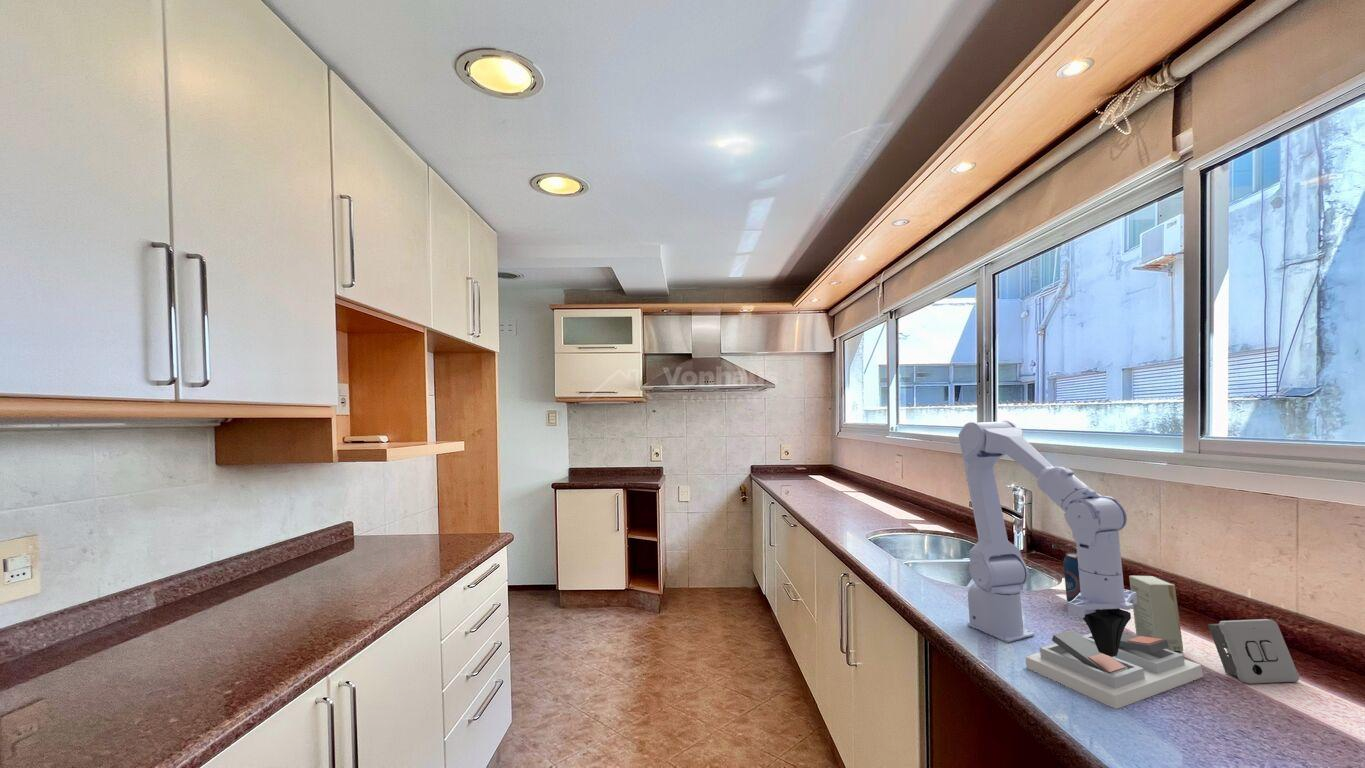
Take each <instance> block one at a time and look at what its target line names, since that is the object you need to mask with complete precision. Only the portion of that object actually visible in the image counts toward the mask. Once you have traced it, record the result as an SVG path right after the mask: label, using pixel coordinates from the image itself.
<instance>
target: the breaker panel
mask: <svg viewBox="0 0 1365 768" xmlns="http://www.w3.org/2000/svg"><path fill="white" fill-rule="evenodd" d="M1081 636H1082V637H1084V638H1085V639H1087V640H1088V641H1090V642H1091V643H1093V644H1094V645H1096V644H1095V641H1094V639H1093V637H1092V634H1091V633H1089V634H1088V633H1087V634H1084V635H1081ZM1113 658H1115V659H1116V660H1117V661H1119V662H1120V663H1122V664H1123V665H1125V666H1126V667H1128V668H1129V669H1127V670H1124V671H1121V672H1118V673H1115V674H1112V675H1111V674H1108V673H1106V672H1103V671H1101V670H1098V669H1096V668H1094V667H1091V666H1089V665H1086V664H1084V663H1082V662H1081V661H1079V660H1078V659H1077V658H1075V657H1074V656H1073V655H1071V654H1070V653H1068V652H1067V651H1066V650H1064V649H1063V648H1062V647H1060V646H1059V645H1057V644H1056V643H1055V642H1054V643H1051V644H1048V645H1045V646H1041V647H1039V652H1036V653H1033V654H1030V655H1026V656H1025V669H1027V668H1028V669H1027V670H1030V671H1032V670H1033V671H1032V672H1034V671H1035V673H1036V672H1037V673H1036V674H1038V673H1039V675H1041V676H1043V677H1045V678H1047V677H1048V679H1049V678H1050V679H1049V680H1051V679H1053V680H1052V681H1054V682H1056V681H1057V682H1056V683H1058V682H1059V683H1058V684H1060V683H1061V684H1060V685H1062V684H1063V685H1062V686H1064V685H1065V687H1067V688H1069V689H1071V690H1074V691H1075V692H1078V693H1080V694H1082V695H1085V696H1086V697H1089V698H1091V699H1094V701H1095V700H1096V701H1098V702H1100V703H1102V704H1104V705H1107V706H1108V707H1110V708H1112V709H1114V710H1117V709H1120V708H1124V707H1126V706H1129V705H1131V704H1134V703H1137V702H1140V701H1143V700H1145V699H1147V698H1150V697H1152V696H1155V695H1158V694H1159V695H1160V694H1161V693H1164V692H1166V691H1169V690H1173V689H1174V688H1177V687H1180V686H1183V685H1186V684H1189V683H1191V682H1193V680H1194V681H1197V680H1200V679H1202V678H1203V677H1204V676H1203V668H1202V664H1200V663H1197V662H1194V661H1190V660H1189V659H1185V654H1182V653H1179V652H1178V651H1171V650H1168V649H1163V650H1160V651H1157V652H1154V653H1147V652H1141V651H1136V650H1130V649H1124V648H1119V650H1118V654H1117V656H1114V657H1113ZM1201 677H1202V678H1201Z"/></svg>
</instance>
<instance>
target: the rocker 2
mask: <svg viewBox="0 0 1365 768" xmlns="http://www.w3.org/2000/svg"><path fill="white" fill-rule="evenodd" d="M1092 637H1093V636H1092ZM1093 639H1094V638H1093ZM1119 648H1124V649H1130V650H1136V651H1141V652H1147V653H1154V652H1157V651H1160V650H1163V649H1166V648H1169V646H1168V643H1167V640H1164V639H1158V638H1151V637H1144V636H1137V635H1136V634H1129V633H1122V636H1121V640H1120V645H1119Z"/></svg>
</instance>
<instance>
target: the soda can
mask: <svg viewBox="0 0 1365 768" xmlns="http://www.w3.org/2000/svg"><path fill="white" fill-rule="evenodd" d="M1062 561H1063V562H1062V563H1063V572H1064V573H1063V574H1064V584H1065V595H1066V602H1070V601H1072V600H1073V599H1074V598H1075V597H1076V596H1077V595H1078V594H1079V593H1080V592H1081V591H1080V580H1079V568H1078V557H1077V551H1072V552H1071V551H1069V552H1066V553H1065V557H1064V558H1063V560H1062Z"/></svg>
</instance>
